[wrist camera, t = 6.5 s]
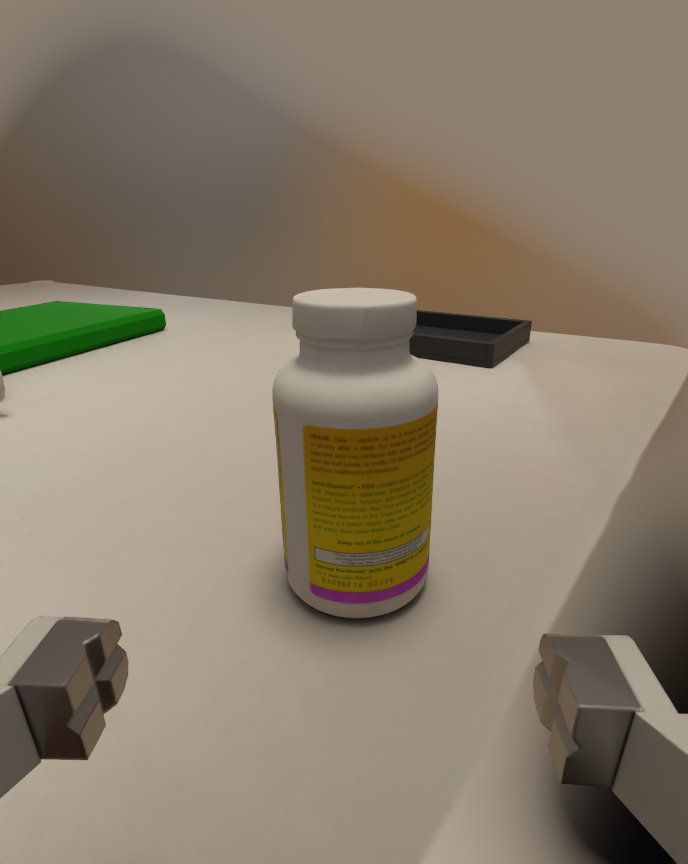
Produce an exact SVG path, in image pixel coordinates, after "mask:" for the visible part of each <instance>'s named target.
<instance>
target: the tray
mask: <svg viewBox="0 0 688 864" xmlns="http://www.w3.org/2000/svg"><path fill="white" fill-rule="evenodd" d="M531 323H532V321H525V320H516V319H506V318H495V317H484V316H473V315H462V314H452V313H441V312H431V311H420V310H417V318H416V327H415V329H414V330H413V335H412V337H411V338H410V339H409V352H410V355H413V356H415V357H419V358H426V359H433V360H440V361H447V362H454V363H461V364H467V365H474V366H481V367H488V368H493V367H494V366H495V365H497V364H498V363H500V362H501V361H502V360H504V359H505V358H506V357H508V356H509V355H511V354H512V353H513V352H515V351H516V350H517V349H519V348H520V347H521V346H523V345H524V344H526V343H527V342H528V341H529V339H530V337H529V336H530V331H531Z"/></svg>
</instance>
